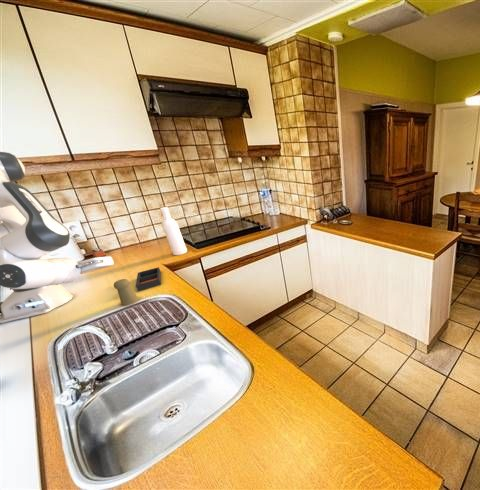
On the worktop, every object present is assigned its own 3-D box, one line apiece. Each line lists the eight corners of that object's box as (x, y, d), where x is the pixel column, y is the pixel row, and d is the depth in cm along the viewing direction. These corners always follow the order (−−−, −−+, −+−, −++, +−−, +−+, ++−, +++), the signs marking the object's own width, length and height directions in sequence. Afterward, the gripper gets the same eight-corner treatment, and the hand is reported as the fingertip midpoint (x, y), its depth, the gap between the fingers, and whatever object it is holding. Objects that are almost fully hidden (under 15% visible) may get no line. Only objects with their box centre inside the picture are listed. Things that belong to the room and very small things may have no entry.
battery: (100, 266, 158) (92, 251, 154) (97, 264, 162) (89, 249, 158) (110, 263, 161) (102, 248, 158) (106, 261, 165) (99, 246, 161)
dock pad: (138, 291, 128) (135, 285, 127) (140, 277, 142) (137, 272, 140) (161, 284, 133) (158, 279, 132) (160, 272, 147) (158, 267, 145)
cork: (128, 306, 117) (118, 284, 113) (118, 305, 118) (107, 283, 114) (141, 298, 122) (132, 277, 118) (131, 297, 124) (121, 276, 119)
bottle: (174, 252, 173) (157, 207, 161) (187, 249, 176) (172, 205, 164) (172, 256, 166) (154, 210, 154) (186, 253, 169) (170, 208, 158)
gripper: (92, 252, 92) (121, 251, 105) (23, 271, 88) (63, 268, 102) (98, 269, 92) (127, 266, 105) (30, 289, 88) (69, 283, 102)
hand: (95, 267), depth 104 cm, fingers open, 8 cm apart
